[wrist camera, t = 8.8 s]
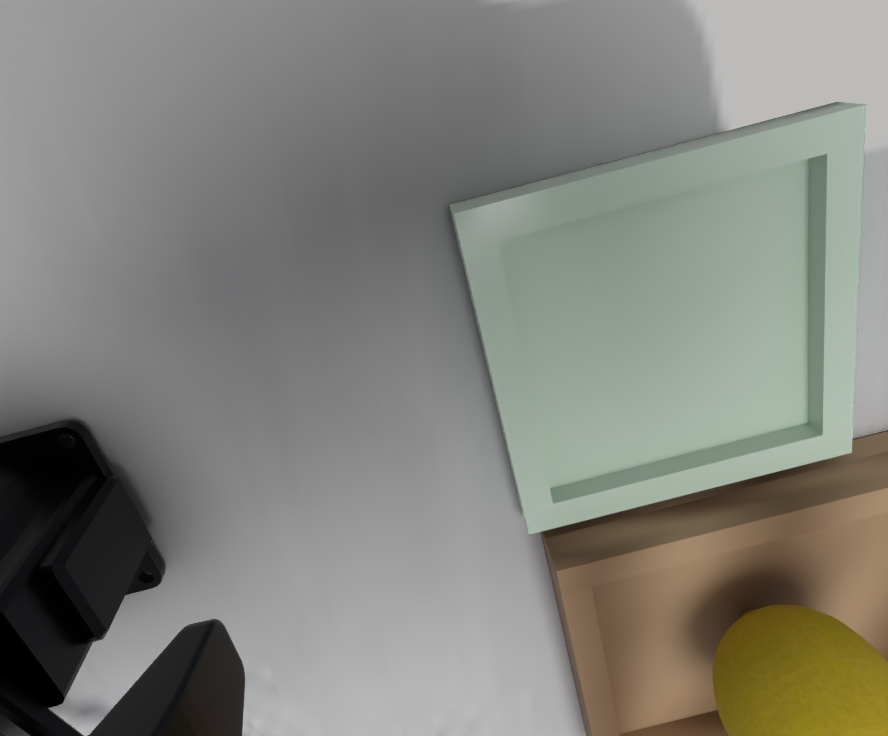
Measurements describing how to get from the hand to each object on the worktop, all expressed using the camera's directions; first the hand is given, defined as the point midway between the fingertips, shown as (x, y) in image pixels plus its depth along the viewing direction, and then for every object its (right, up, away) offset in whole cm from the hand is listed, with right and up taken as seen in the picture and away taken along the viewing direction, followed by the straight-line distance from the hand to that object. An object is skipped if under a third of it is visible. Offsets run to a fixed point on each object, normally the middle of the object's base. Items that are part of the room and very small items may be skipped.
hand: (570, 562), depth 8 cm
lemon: (+10, -7, +16) cm, 20 cm away
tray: (+10, -6, +17) cm, 21 cm away
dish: (+5, +4, +12) cm, 14 cm away
